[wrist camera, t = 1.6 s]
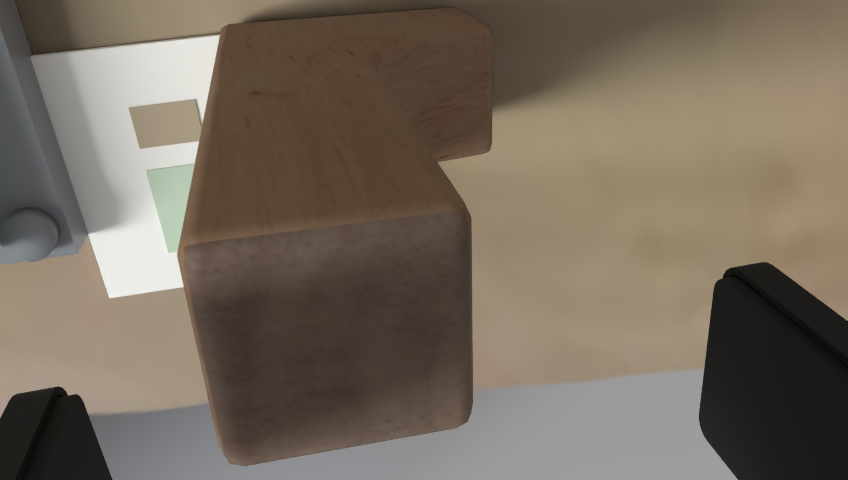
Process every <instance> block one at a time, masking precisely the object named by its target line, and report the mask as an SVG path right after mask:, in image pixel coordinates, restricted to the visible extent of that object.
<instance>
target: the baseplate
mask: <svg viewBox="0 0 848 480" xmlns="http://www.w3.org/2000/svg"><path fill="white" fill-rule="evenodd" d="M31 56H32V52H31V48H30V45H29V42H28V39H27V36H26V33H25V30H24V27H23V24H22V21H21V18H20V15H19V12H18V9H17V6H16V3H15V0H0V265H3V264H10V263H16V262H23V261H26V262H35V261H39V260H42V259H44V258H51V257H58V256H64V255H71V254H78V252H79V250H80V248H81V246H82V245H83V243H84V241H85V239H86V237H87V235H88V231H87V228H86V225H85V222H84V219H83V216H82V213H81V210H80V207H79V204H78V201H77V198H76V195H75V192H74V189H73V186H72V183H71V180H70V177H69V174H68V171H67V168H66V165H65V162H64V158H63V155H62V152H61V149H60V146H59V143H58V140H57V137H56V134H55V131H54V128H53V125H52V122H51V119H50V116H49V113H48V110H47V107H46V104H45V101H44V98H43V95H42V92H41V89H40V86H39V83H38V80H37V76H36V73H35V70H34V67H33V64H32V61H31V58H30V57H31Z"/></svg>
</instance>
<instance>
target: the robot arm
mask: <svg viewBox="0 0 848 480" xmlns="http://www.w3.org/2000/svg"><path fill="white" fill-rule="evenodd" d="M699 422H700V427H701V430H702V432H703V434H704V437H705V438H706V440H707V441H708V442H709V444H710V445H711V446H712V447H713V449H714V450H715V451H716V452H717V454H718V455H719V456H720V457H721V459H722V460H723V461H724V462H725V464H726V465H727V466H728V468H729V469H730V470H731V471H732V473H733V474H734V475H735V476H736V477H737V479H738V480H848V321H847V320H845V319H844V318H843V317H841V316H840V315H839V314H837V313H836V312H835V311H833V310H832V309H831V308H829V307H828V306H827V305H825V304H824V303H823V302H821V301H820V300H819V299H817V298H816V297H815V296H813V295H812V294H811V293H809V292H808V291H807V290H805V289H804V288H803V287H801V286H800V285H798V284H797V283H796V282H794V281H793V280H792V279H790V278H789V277H788V276H786V275H785V274H784V273H782V272H781V271H780V270H778V269H777V268H776V267H774V266H773V265H771V264H769V263H767V262H761V263H756V264H750V265H744V266H739V267H733V268H730V269H728V270H726V272H725V273H724V275H723V279H720V280H718V281H717V282H716V284H715V286H714V292H713V300H712V309H711V317H710V326H709V334H708V343H707V351H706V360H705V368H704V377H703V386H702V394H701V402H700V411H699ZM0 480H112V478H111V475H110V472H109V470H108V467H107V464H106V462H105V459H104V456H103V454H102V451H101V448H100V445H99V443H98V440H97V437H96V435H95V432H94V429H93V427H92V424H91V421H90V419H89V416H88V413H87V411H86V408H85V405H84V403H83V401H82V399H81V397H80V396H79V395H77V394H75V395H69V396H68V395H67V393H66V391H65V390H64V389H63V388H61V387H53V388H48V389H42V390H36V391H31V392H25V393H19V394H16V395H14V396H12V398H11V399H10V400H9V402H8V404H7V406H6V408H5V410H4V412H3V414H2V416H1V418H0Z"/></svg>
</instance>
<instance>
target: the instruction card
mask: <svg viewBox="0 0 848 480" xmlns="http://www.w3.org/2000/svg"><path fill="white" fill-rule="evenodd" d="M219 36H220V34H214V35H205V36H196V37H187V38H179V39H170V40H161V41H152V42H143V43H134V44H126V45H117V46H108V47H99V48H90V49H82V50H73V51H64V52H55V53H46V54H37V55H32V56H31V57H30V58H31V61H32V64H33V67H34V70H35V73H36V76H37V80H38V83H39V86H40V89H41V92H42V95H43V98H44V101H45V104H46V107H47V110H48V113H49V116H50V119H51V122H52V125H53V128H54V131H55V134H56V137H57V140H58V143H59V146H60V149H61V152H62V155H63V158H64V162H65V165H66V168H67V171H68V174H69V177H70V180H71V183H72V186H73V189H74V192H75V195H76V198H77V201H78V204H79V207H80V210H81V213H82V216H83V219H84V222H85V225H86V228H87V231H88V234H89V237H90V241H91V244H92V247H93V250H94V253H95V256H96V259H97V262H98V265H99V268H100V271H101V274H102V277H103V280H104V283H105V286H106V289H107V292H108V295H109V298H114V297H121V296H127V295H134V294H140V293H147V292H153V291H160V290H166V289H173V288H179V287H184V285H183V281H182V276H181V272H180V267H179V263H178V258H177V252H178V247H179V242H180V236H181V231H182V226H183V221H184V216H185V211H186V206H187V201H188V195H189V190H190V185H191V180H192V175H193V170H194V165H195V159H196V154H197V149H198V144H199V139H200V134H201V129H202V124H203V118H204V113H205V108H206V103H207V98H208V93H209V88H210V83H211V78H212V73H213V68H214V63H215V58H216V53H217V48H218V42H219Z"/></svg>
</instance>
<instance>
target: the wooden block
mask: <svg viewBox="0 0 848 480" xmlns="http://www.w3.org/2000/svg"><path fill="white" fill-rule="evenodd" d="M492 71H493V34H492V32H491V30H490V28H489V27H488V26H486V25H485V24H483V23H481V22H480V21H478V20H476V19H475V18H473V17H471V16H470V15H468V14H466V13H465V12H463V11H461V10H459V9H456V8H453V7H451V8H438V9H424V10H411V11H398V12H384V13H371V14H357V15H344V16H331V17H317V18H304V19H291V20H278V21H264V22H251V23H238V24H229V25H227V26H225V27H223V28H221V32H220V36H219V42H218V48H217V53H216V58H215V63H214V68H213V73H212V78H211V83H210V88H209V93H208V98H207V103H206V108H205V113H204V118H203V124H202V129H201V134H200V139H199V144H198V149H197V154H196V159H195V165H194V170H193V175H192V180H191V185H190V190H189V195H188V201H187V206H186V211H185V216H184V221H183V226H182V231H181V236H180V242H179V247H178V252H177V258H178V263H179V267H180V272H181V276H182V281H183V285H184V290H185V295H186V299H187V304H188V308H189V313H190V318H191V322H192V327H193V331H194V336H195V341H196V345H197V350H198V354H199V359H200V363H201V368H202V373H203V377H204V382H205V386H206V391H207V396H208V400H209V405H210V409H211V414H212V418H213V423H214V427H215V432H216V437H217V441H218V446H219V447H220V449H221V451H222V452H223V454H224V455H225V457H226V458H227V460H228V461H229V463H230V464H234V465H241V466H248V465H254V464H259V463H265V462H270V461H276V460H281V459H287V458H293V457H298V456H304V455H310V454H315V453H321V452H326V451H331V450H337V449H343V448H348V447H354V446H360V445H365V444H371V443H376V442H382V441H387V440H393V439H399V438H404V437H410V436H415V435H421V434H427V433H432V432H438V431H443V430H449V429H454V428H457V427H459V426H461V425H463V424H464V423H466V422H467V421H468V419H469V417H470V414H471V410H472V404H473V349H472V234H471V216H470V214H469V212H468V209H467V207H466V205H465V203H464V201H463V200H462V198H461V197H460V195H459V194H458V192H457V191H456V189H455V188H454V186H453V185H452V183H451V182H450V180H449V179H448V177H447V176H446V174H445V173H444V171H443V170H442V169H441V167H440V166H439V164H438V163H437V162H441V161H447V160H452V159H457V158H463V157H468V156H474V155H479V154H484V153H486V152H488V151H490V148H491V144H492Z"/></svg>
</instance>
